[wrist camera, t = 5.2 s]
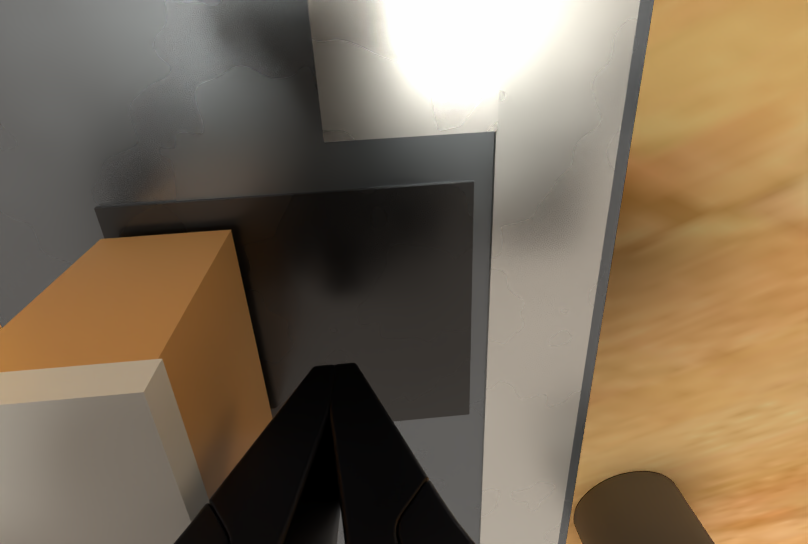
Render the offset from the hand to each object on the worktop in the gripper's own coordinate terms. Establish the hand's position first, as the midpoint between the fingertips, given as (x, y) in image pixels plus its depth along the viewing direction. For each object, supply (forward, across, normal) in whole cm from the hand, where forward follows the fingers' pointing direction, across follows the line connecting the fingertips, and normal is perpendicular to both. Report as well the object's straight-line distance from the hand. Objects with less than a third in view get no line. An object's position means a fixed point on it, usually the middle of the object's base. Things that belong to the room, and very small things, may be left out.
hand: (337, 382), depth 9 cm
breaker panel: (+5, 0, 0) cm, 5 cm away
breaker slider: (+2, +3, 0) cm, 4 cm away
